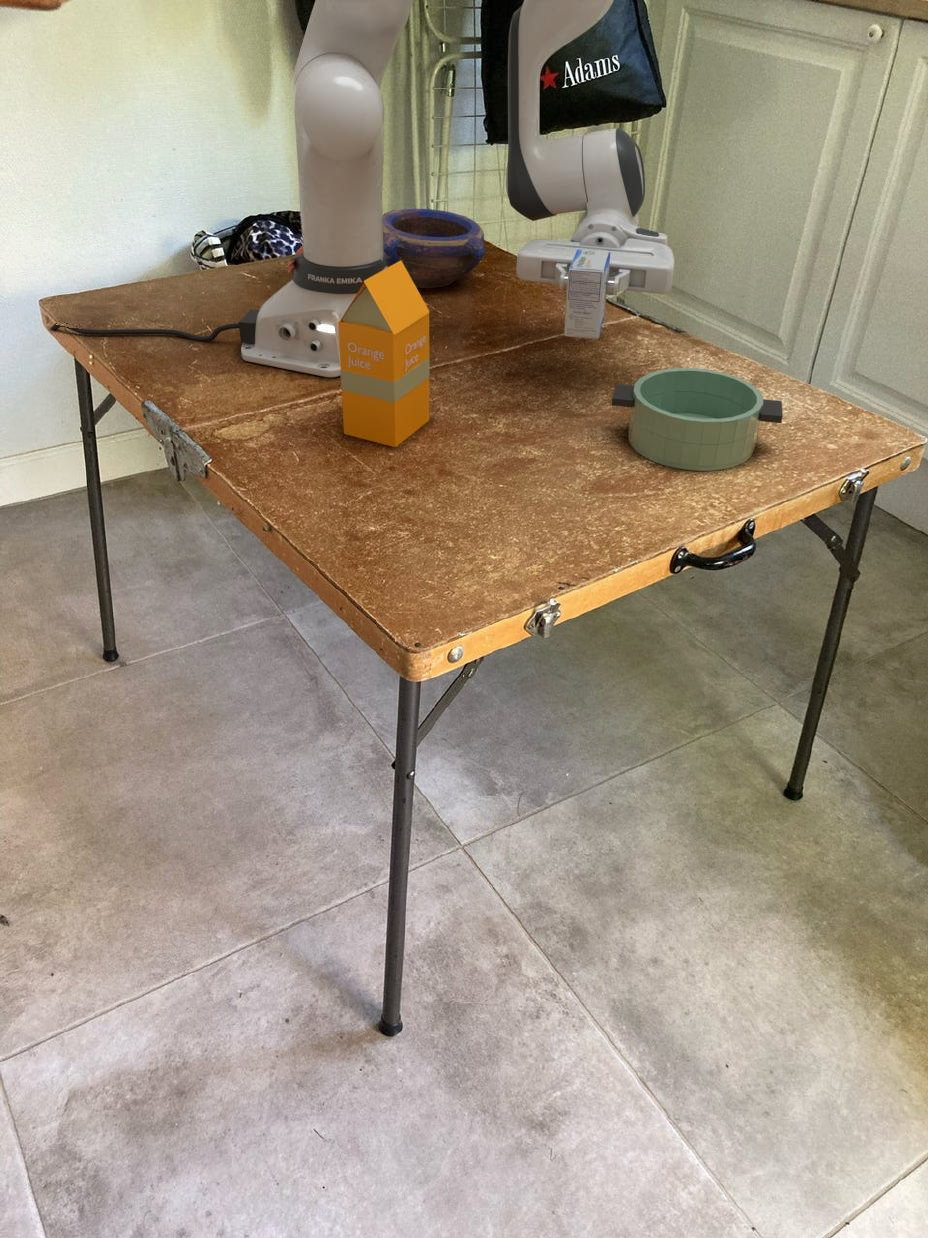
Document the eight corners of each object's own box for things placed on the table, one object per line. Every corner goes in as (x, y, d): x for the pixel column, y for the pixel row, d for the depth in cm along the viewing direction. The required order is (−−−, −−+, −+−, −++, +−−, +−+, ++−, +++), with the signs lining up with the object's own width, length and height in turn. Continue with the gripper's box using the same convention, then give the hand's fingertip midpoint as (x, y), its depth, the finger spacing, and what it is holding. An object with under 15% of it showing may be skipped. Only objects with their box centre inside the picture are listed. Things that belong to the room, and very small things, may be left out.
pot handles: (611, 405, 131) (612, 397, 131) (615, 391, 135) (615, 383, 134) (781, 423, 128) (782, 415, 128) (780, 408, 132) (781, 400, 131)
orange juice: (342, 433, 134) (334, 275, 122) (378, 407, 141) (374, 254, 129) (396, 447, 131) (393, 287, 120) (430, 420, 138) (430, 265, 126)
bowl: (485, 298, 175) (486, 236, 169) (374, 297, 174) (373, 235, 168) (481, 263, 189) (483, 205, 183) (379, 262, 189) (378, 203, 183)
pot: (622, 462, 129) (628, 413, 126) (633, 408, 142) (639, 362, 138) (753, 477, 127) (763, 427, 123) (753, 421, 139) (762, 374, 135)
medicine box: (598, 340, 132) (605, 270, 126) (562, 337, 132) (568, 267, 127) (604, 317, 138) (611, 250, 133) (570, 314, 139) (575, 247, 133)
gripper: (525, 221, 143) (507, 253, 132) (679, 235, 140) (673, 268, 129) (523, 268, 147) (505, 303, 136) (672, 282, 144) (666, 319, 133)
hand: (588, 286), depth 133 cm, fingers closed on medicine box, 4 cm apart
